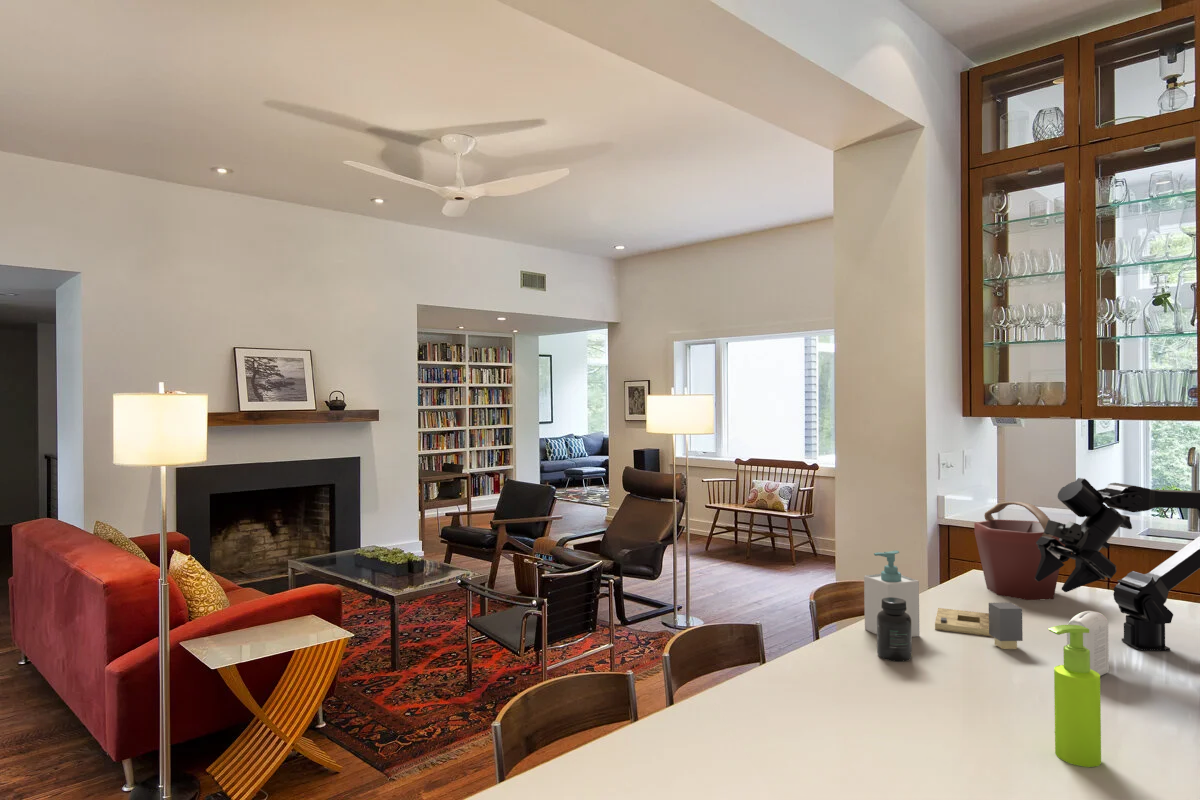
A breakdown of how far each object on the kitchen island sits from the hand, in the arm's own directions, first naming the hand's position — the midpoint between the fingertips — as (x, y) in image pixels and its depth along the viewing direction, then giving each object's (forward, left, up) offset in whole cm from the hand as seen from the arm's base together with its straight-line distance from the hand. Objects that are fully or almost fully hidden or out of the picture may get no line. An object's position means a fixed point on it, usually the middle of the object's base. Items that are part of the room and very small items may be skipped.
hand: (1049, 585), depth 159 cm
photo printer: (0, +15, -14) cm, 21 cm away
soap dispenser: (+21, +50, -14) cm, 56 cm away
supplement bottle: (+35, +7, -14) cm, 38 cm away
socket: (+11, -16, -14) cm, 24 cm away
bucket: (-16, -48, -14) cm, 52 cm away
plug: (+9, -1, -14) cm, 16 cm away
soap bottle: (+31, -9, -14) cm, 35 cm away
